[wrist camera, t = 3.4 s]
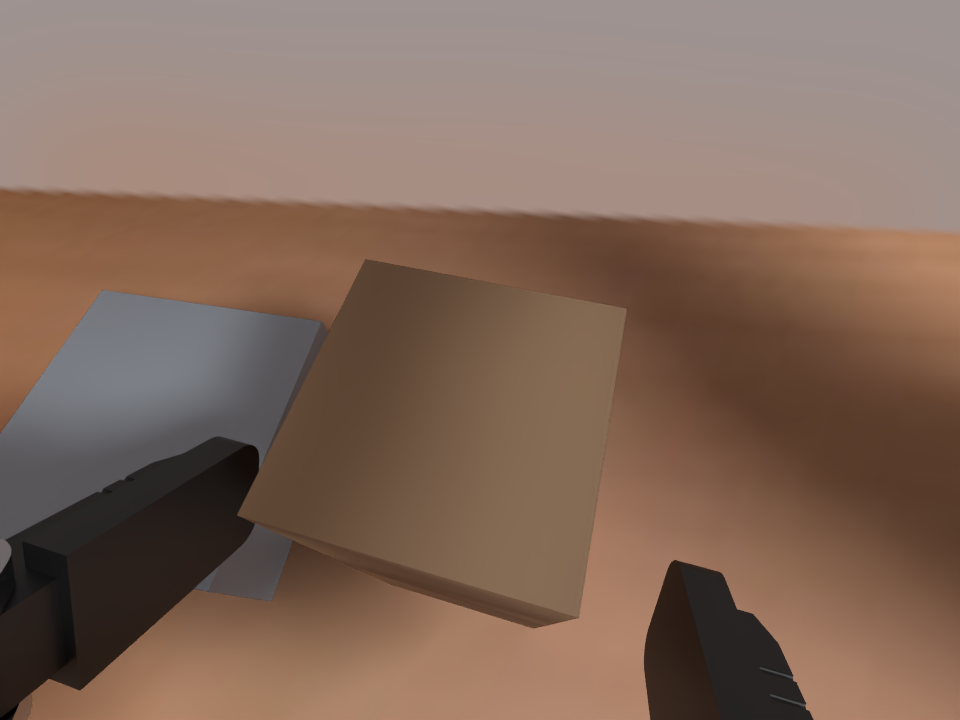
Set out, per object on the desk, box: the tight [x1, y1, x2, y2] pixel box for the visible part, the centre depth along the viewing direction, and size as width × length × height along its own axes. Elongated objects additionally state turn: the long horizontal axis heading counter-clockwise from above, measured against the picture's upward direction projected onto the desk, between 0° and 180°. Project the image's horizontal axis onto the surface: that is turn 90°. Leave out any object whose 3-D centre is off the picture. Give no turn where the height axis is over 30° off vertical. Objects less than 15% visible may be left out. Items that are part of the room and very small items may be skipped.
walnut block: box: [237, 259, 627, 628], centre depth 11 cm, size 4×4×10 cm
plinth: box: [0, 290, 328, 601], centre depth 16 cm, size 8×8×4 cm
